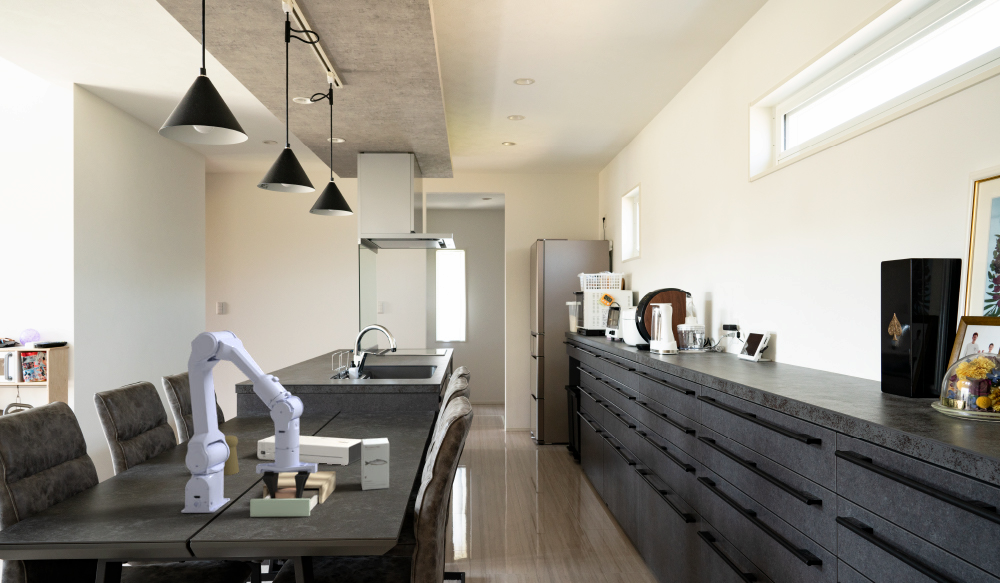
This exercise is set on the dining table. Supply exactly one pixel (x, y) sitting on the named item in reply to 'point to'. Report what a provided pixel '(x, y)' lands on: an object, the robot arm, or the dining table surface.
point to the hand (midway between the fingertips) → (286, 501)
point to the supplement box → (374, 463)
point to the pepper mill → (231, 456)
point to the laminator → (317, 450)
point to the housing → (308, 483)
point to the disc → (286, 493)
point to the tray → (284, 505)
